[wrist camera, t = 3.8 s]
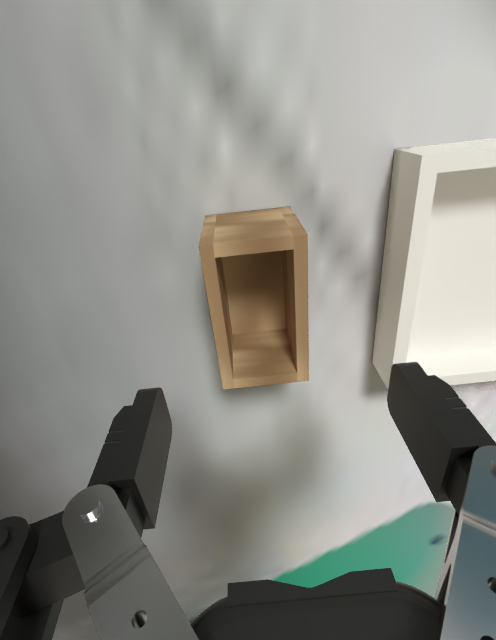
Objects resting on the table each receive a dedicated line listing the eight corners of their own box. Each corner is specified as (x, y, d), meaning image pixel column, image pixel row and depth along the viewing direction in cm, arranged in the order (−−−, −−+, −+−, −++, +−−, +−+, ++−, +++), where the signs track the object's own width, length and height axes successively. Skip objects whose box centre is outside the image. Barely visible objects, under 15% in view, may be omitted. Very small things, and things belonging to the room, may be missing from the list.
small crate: (224, 337, 23) (223, 389, 19) (205, 215, 19) (198, 245, 15) (294, 330, 23) (308, 380, 19) (289, 206, 19) (307, 234, 15)
